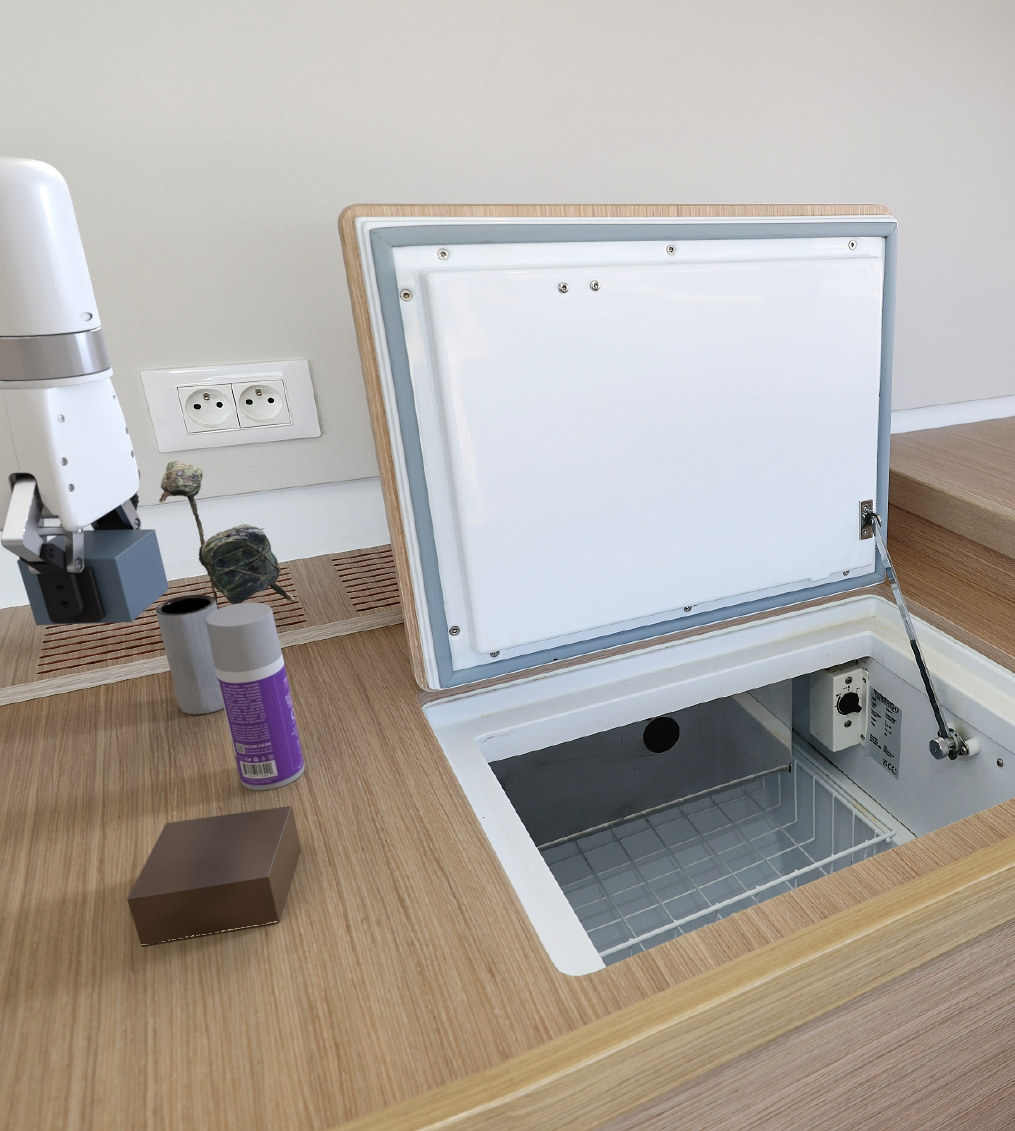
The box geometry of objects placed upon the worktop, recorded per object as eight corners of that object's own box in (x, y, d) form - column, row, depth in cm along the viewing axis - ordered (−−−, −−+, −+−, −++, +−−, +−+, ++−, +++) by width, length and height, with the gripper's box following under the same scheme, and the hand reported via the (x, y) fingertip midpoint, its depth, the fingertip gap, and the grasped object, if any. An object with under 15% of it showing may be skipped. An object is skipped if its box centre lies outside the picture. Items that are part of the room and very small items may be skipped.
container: (316, 770, 80) (286, 611, 75) (261, 797, 77) (224, 632, 71) (284, 752, 83) (252, 596, 77) (229, 778, 79) (191, 616, 73)
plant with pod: (297, 637, 102) (264, 459, 95) (171, 656, 97) (126, 469, 90) (297, 608, 109) (266, 439, 101) (180, 624, 104) (138, 448, 96)
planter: (220, 686, 92) (199, 590, 88) (246, 700, 90) (225, 602, 86) (170, 705, 88) (145, 606, 85) (195, 720, 86) (171, 619, 83)
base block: (140, 946, 62) (126, 898, 60) (178, 867, 69) (165, 822, 67) (279, 923, 64) (268, 876, 63) (301, 848, 71) (292, 805, 70)
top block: (35, 625, 66) (16, 560, 65) (81, 591, 72) (64, 530, 70) (131, 622, 68) (115, 558, 66) (169, 589, 73) (155, 528, 71)
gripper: (48, 334, 70) (106, 559, 77) (-124, 381, 54) (-31, 658, 61) (161, 337, 71) (209, 556, 78) (26, 383, 56) (100, 653, 63)
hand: (103, 599), depth 70 cm, fingers closed on top block, 6 cm apart
